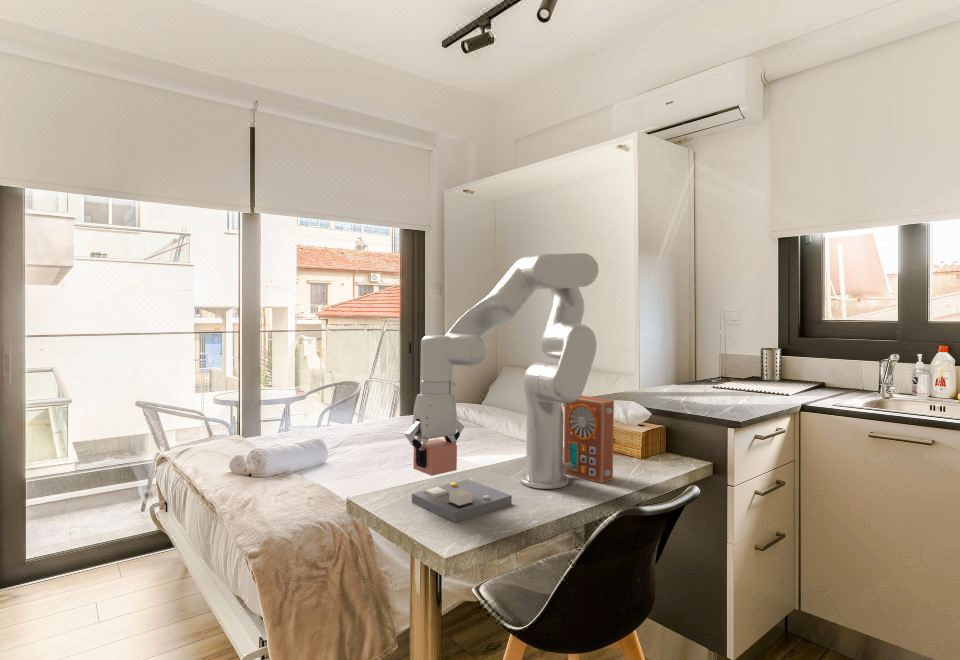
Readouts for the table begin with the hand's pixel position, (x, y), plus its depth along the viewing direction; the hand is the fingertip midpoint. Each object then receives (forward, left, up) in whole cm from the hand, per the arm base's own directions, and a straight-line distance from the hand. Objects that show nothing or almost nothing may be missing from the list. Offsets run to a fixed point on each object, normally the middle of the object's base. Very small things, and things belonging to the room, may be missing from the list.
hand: (435, 463), depth 128 cm
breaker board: (-4, +5, -9) cm, 11 cm away
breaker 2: (0, +9, -7) cm, 11 cm away
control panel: (-44, +11, -10) cm, 46 cm away
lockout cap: (0, 0, -2) cm, 2 cm away
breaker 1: (0, 0, -9) cm, 9 cm away
